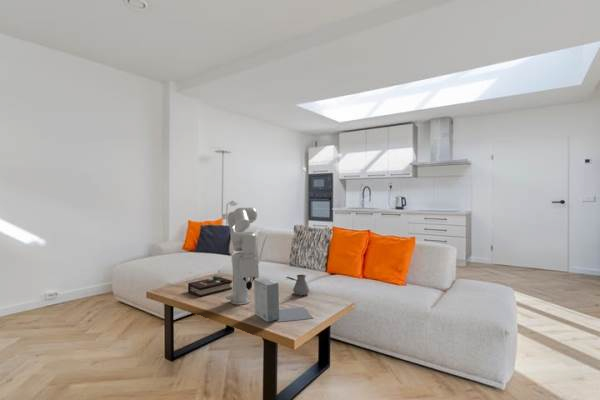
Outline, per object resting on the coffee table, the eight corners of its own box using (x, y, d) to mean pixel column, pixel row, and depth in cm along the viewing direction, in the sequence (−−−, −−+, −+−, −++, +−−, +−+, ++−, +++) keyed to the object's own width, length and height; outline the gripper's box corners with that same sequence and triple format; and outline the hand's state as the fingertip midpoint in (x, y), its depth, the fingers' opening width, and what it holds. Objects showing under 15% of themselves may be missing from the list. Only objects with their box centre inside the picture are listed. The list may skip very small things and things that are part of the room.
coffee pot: (299, 290, 224) (300, 269, 224) (312, 293, 217) (312, 272, 217) (279, 297, 207) (279, 275, 207) (292, 301, 200) (292, 278, 200)
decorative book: (184, 282, 219) (221, 274, 241) (184, 293, 219) (221, 284, 241) (197, 287, 206) (235, 279, 227) (197, 299, 206) (235, 289, 227)
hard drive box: (279, 319, 170) (278, 283, 170) (267, 322, 166) (266, 285, 165) (266, 311, 183) (265, 277, 182) (254, 314, 178) (253, 279, 178)
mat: (277, 322, 167) (277, 321, 167) (271, 310, 184) (271, 310, 184) (313, 318, 172) (313, 317, 172) (304, 307, 190) (304, 306, 189)
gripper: (235, 257, 166) (235, 292, 165) (263, 256, 170) (263, 290, 169) (234, 255, 173) (234, 288, 173) (261, 254, 177) (261, 286, 177)
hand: (249, 289), depth 171 cm, fingers closed
